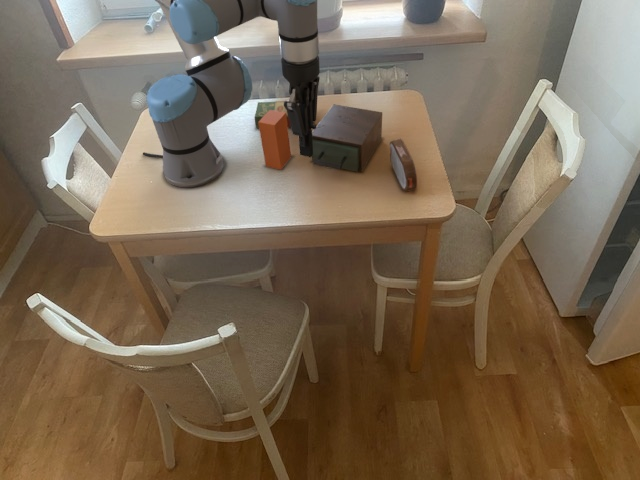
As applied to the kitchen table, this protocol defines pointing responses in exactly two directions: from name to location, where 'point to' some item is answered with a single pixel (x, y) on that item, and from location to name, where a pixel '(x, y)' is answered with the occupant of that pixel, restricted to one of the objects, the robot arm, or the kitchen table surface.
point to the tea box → (275, 139)
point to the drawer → (335, 155)
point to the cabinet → (351, 130)
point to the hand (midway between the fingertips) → (306, 154)
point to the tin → (403, 165)
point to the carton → (266, 106)
